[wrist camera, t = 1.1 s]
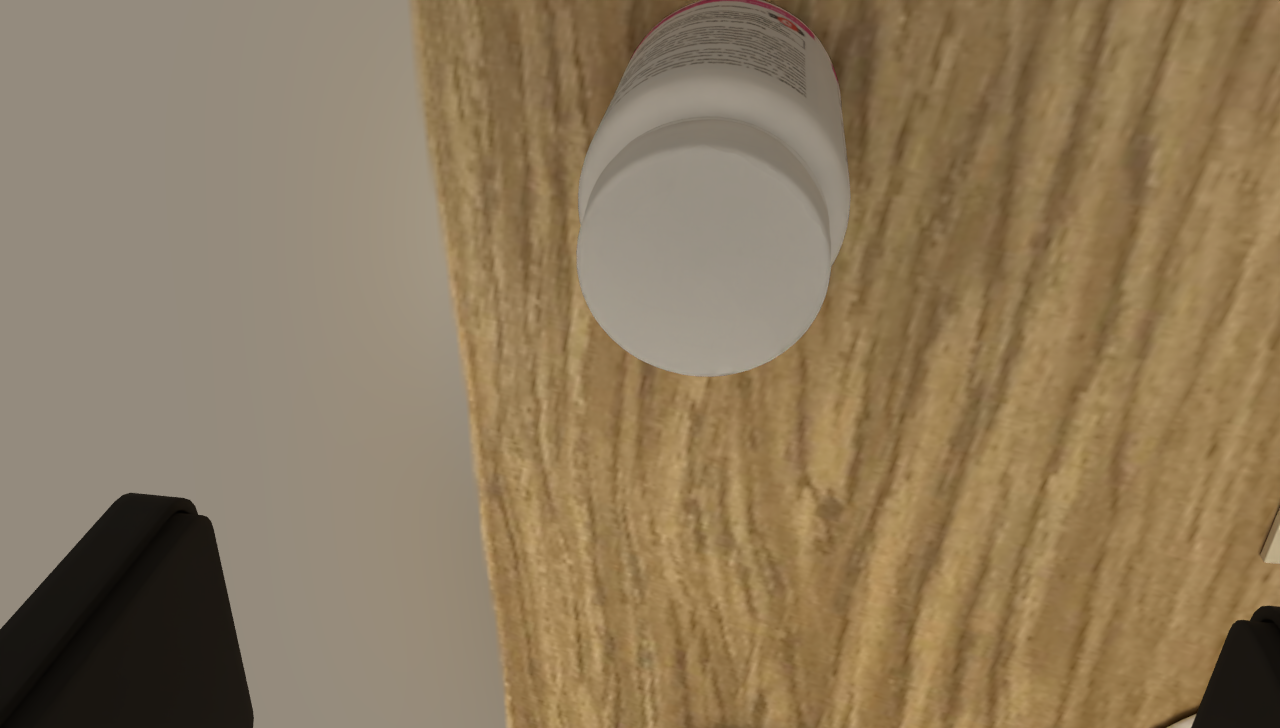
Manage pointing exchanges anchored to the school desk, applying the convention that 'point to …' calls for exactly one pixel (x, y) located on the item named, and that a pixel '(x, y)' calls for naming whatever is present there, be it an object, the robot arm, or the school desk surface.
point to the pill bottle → (715, 190)
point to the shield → (1184, 723)
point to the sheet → (1272, 543)
